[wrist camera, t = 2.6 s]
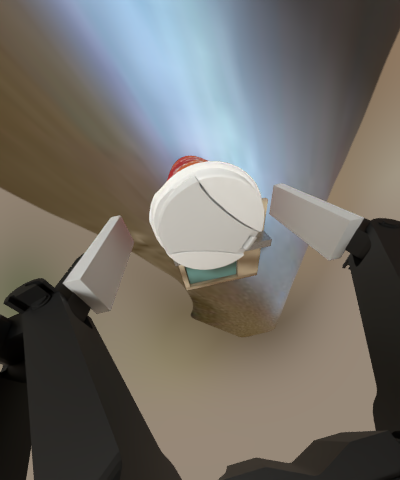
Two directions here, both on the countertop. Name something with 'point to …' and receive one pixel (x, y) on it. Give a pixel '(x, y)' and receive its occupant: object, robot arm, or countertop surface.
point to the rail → (255, 243)
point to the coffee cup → (206, 213)
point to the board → (224, 268)
